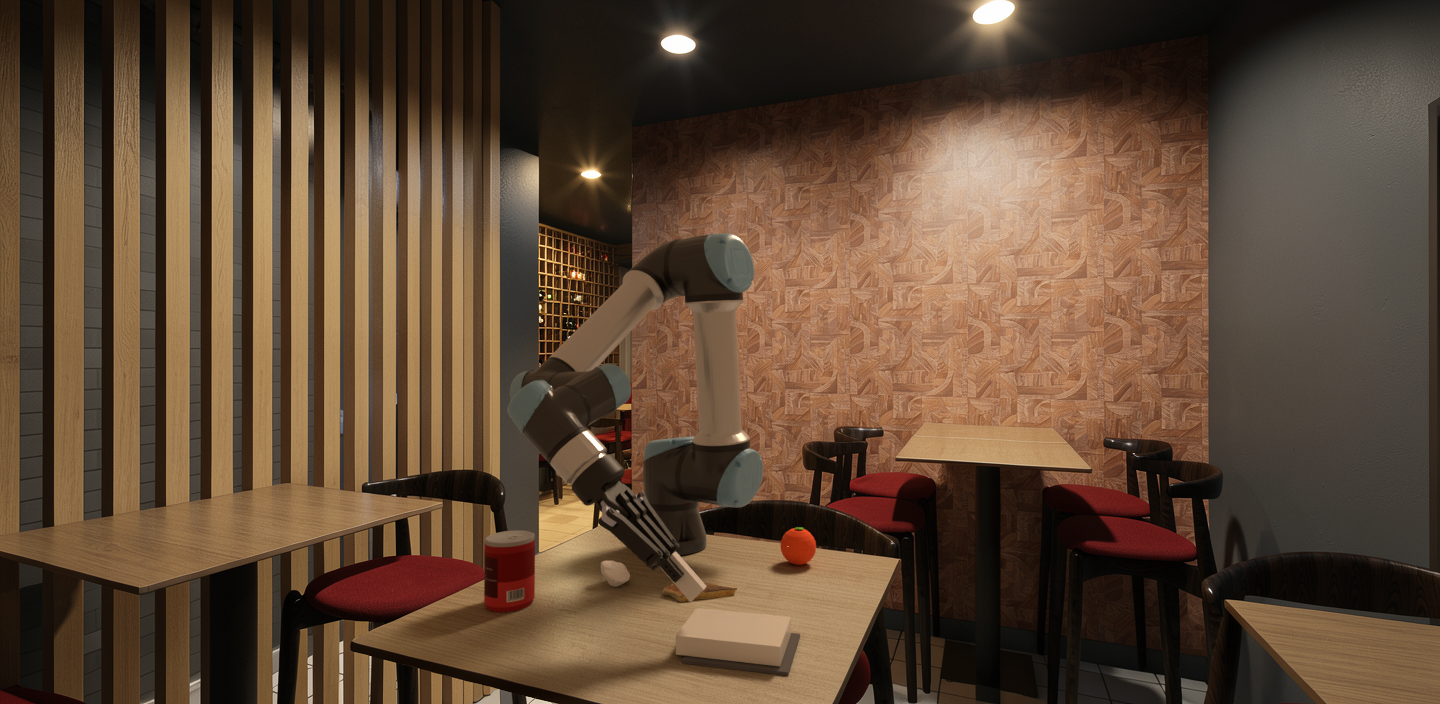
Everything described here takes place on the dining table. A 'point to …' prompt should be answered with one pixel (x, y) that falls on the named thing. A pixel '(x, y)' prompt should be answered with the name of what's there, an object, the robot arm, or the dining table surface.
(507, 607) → the canned food
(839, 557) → the dining table surface
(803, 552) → the clementine
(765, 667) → the rubber mat
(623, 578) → the dumpling
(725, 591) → the shard
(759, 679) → the dining table surface
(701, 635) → the glazed tile
